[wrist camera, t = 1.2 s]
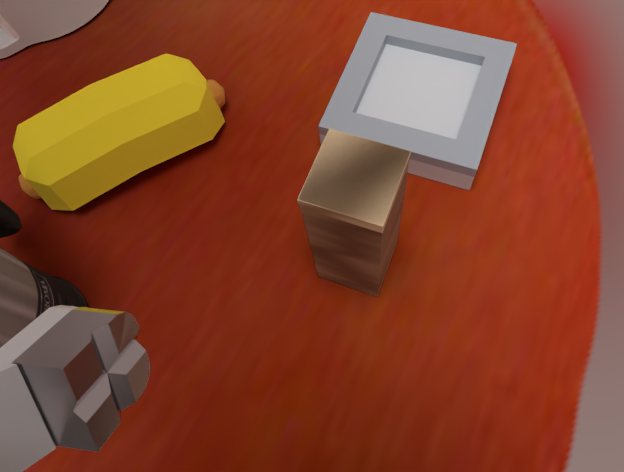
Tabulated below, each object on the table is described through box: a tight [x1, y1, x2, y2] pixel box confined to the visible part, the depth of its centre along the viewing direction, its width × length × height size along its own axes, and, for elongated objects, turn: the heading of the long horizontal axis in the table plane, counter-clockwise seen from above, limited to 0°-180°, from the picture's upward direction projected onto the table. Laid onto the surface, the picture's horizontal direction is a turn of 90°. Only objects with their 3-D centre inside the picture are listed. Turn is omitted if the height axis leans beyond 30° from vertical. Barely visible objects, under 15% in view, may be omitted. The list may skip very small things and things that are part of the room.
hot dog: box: [13, 53, 226, 211], centre depth 41 cm, size 18×7×8 cm
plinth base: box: [318, 12, 517, 190], centre depth 41 cm, size 12×12×3 cm
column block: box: [297, 129, 411, 297], centre depth 32 cm, size 5×5×12 cm
